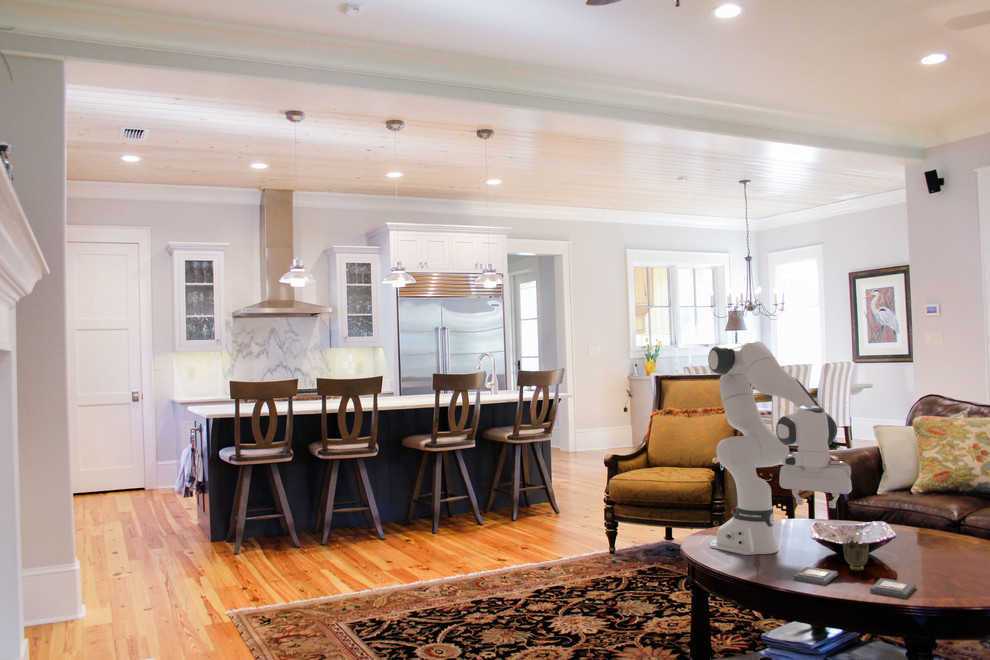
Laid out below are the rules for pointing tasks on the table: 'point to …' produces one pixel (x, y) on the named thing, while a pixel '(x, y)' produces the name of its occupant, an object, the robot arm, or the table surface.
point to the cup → (856, 554)
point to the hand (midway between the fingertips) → (815, 506)
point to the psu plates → (879, 587)
